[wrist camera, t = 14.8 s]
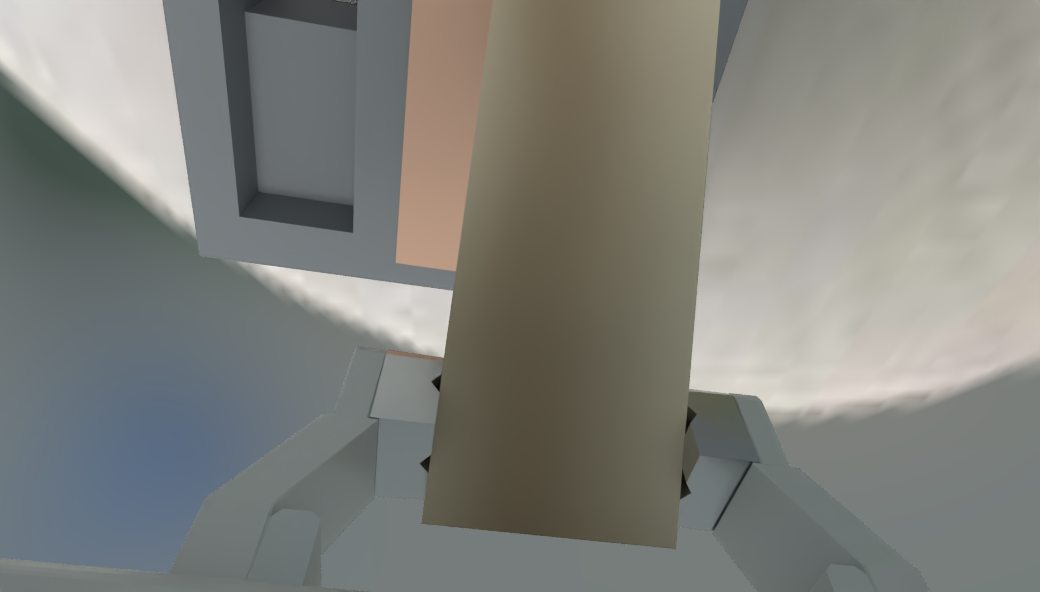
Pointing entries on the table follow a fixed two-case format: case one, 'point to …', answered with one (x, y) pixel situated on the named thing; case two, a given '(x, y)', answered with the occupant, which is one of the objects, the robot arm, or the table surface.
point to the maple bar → (578, 273)
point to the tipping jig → (337, 129)
